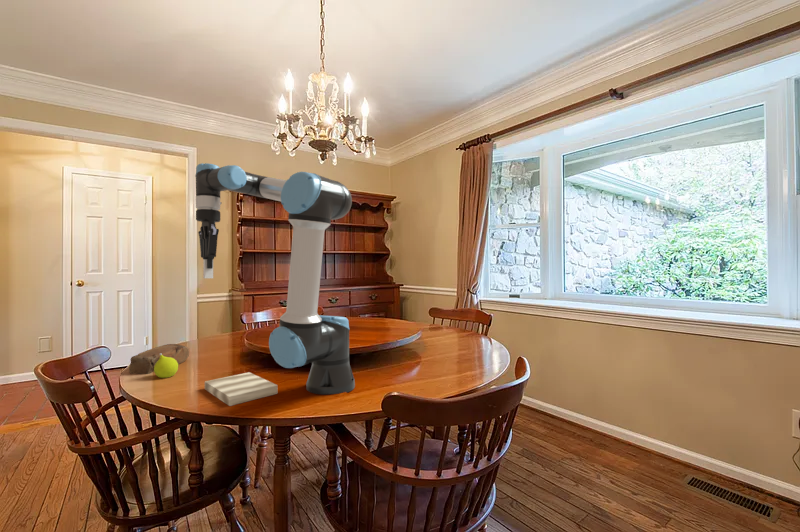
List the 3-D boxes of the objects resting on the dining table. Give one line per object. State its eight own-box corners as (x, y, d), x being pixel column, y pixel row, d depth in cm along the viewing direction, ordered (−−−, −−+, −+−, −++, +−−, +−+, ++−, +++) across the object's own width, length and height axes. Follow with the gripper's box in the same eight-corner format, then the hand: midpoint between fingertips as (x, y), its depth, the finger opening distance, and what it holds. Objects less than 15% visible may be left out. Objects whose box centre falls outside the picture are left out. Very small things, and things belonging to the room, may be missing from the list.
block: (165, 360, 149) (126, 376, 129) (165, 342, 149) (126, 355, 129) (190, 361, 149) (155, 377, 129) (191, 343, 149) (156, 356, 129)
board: (277, 393, 110) (277, 385, 110) (229, 406, 100) (229, 396, 100) (249, 379, 124) (249, 372, 124) (204, 389, 114) (204, 381, 114)
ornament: (149, 381, 123) (149, 351, 123) (161, 375, 130) (161, 347, 130) (171, 380, 123) (171, 351, 123) (182, 374, 130) (182, 346, 130)
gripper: (226, 209, 125) (226, 278, 124) (213, 213, 134) (213, 277, 133) (202, 206, 119) (202, 278, 119) (190, 210, 128) (190, 278, 128)
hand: (208, 278), depth 126 cm, fingers closed
